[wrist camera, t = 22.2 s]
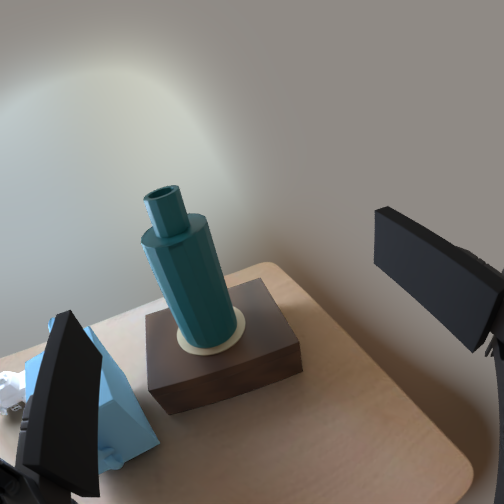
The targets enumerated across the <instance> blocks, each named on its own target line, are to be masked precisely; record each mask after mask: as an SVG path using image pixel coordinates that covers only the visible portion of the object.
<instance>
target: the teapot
mask: <svg viewBox="0 0 504 504" xmlns="http://www.w3.org/2000/svg"><path fill="white" fill-rule="evenodd" d="M54 320H55V318H51V319H50V321H49V324H48V327H49V331H50V332H51V329H52V326H53V323H54ZM84 331H85V332H86V334H87V335H88V336H89V338H90V339H91V341H92V342H93V343H94V345H95V346H96V348H97V349H98V350H99V352H100V353H101V354H102V356H103V359H102V369H101V380H100V393H99V412H98V473H99V474H101V473H103V472H105V471H108V470H110V469H113V470H117V469H120V468H121V467H122V466H123V465H124V462H126V461H128V460H130V459H132V458H134V457H136V456H138V455H140V454H142V453H143V452H145V451H147V450H149V449H151V448H153V447H155V446H156V445H158V444H160V442H159V440H158V438H157V437H156V435H155V433H154V431H153V429H152V428H151V426H150V424H149V422H148V420H147V418H146V417H145V415H144V413H143V411H142V409H141V407H140V405H139V403H138V401H137V399H136V397H135V395H134V393H133V391H132V389H131V387H130V384H129V382H128V380H127V378H126V376H125V374H124V373H123V371H122V370H121V369H120V368H119V366H118V365H117V364H116V362H115V361H114V360H113V358H112V357H111V356H110V354H109V353H108V352H107V350H106V349H105V348H104V346H103V345H102V343H101V342H100V341H99V339H98V338H97V336H96V335H95V333H94V332H93V330H92V329H91V327H90V326H88V327H86V328H84ZM43 354H44V352H42V353H40V354H39V355H37V356H35V357H34V358H32V359H30V360H29V361H27V362H25V389H26V403H27V401H28V399H29V397H30V395H33V393H34V389H35V384H36V380H37V376H38V373H39V369H40V365H41V361H42V358H43Z"/></svg>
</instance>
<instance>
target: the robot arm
mask: <svg viewBox="0 0 504 504" xmlns="http://www.w3.org/2000/svg"><path fill="white" fill-rule="evenodd" d="M374 243H375V244H374V264H375V265H376V266H378V267H379V268H380V269H381V270H382V271H383V272H385V273H386V274H387V275H388V276H389V277H391V278H392V279H393V280H394V281H396V283H398V284H399V285H400V286H401V287H402V288H403V289H404V290H406V291H407V292H408V293H409V294H410V295H411V296H412V297H413V298H415V299H416V300H417V301H418V302H419V303H420V304H421V305H422V306H424V308H426V309H427V310H428V311H429V312H430V313H431V314H432V315H433V316H434V317H435V318H437V319H438V320H439V321H440V322H441V323H442V324H443V325H444V326H445V327H446V328H447V329H448V330H449V331H450V332H451V333H452V334H453V335H454V336H455V337H456V338H457V339H458V340H459V341H461V342H462V343H463V344H464V345H465V346H466V347H467V348H468V349H469V350H470V351H471V352H472V353H473V352H474V351H476V350H477V349H478V348H479V347H480V346H481V345H483V344H484V342H485V340H486V338H487V336H488V334H489V332H491V333H492V334H494V336H493V338H492V340H491V342H490V344H489V346H488V348H487V350H486V351H485V357H487V356H488V354H489V352H490V351H491V349H492V347H493V351H492V353H491V357H492V356H494V360H495V367H496V376H497V385H498V398H499V419H500V444H499V464H498V476H497V485H496V492H495V499H494V504H504V275H503V274H502V273H500V272H499V271H497V270H496V269H495V268H493V267H492V266H490V265H489V264H486V263H485V261H483V260H482V259H480V258H479V259H478V257H477V256H476V255H474V254H473V253H471V252H470V251H468V250H465V249H463V248H460V247H457V246H454V245H453V244H451V243H449V242H448V241H446V240H445V239H443V238H442V237H440V236H438V235H437V234H435V233H434V232H432V231H430V230H429V229H427V228H425V227H424V226H422V225H420V224H419V223H417V222H415V221H413V220H412V219H410V218H408V217H406V216H405V215H403V214H401V213H399V212H397V211H396V210H394V209H392V208H390V207H388V206H387V207H383V208H380V209H377V210H375V242H374ZM102 359H103V356H102V354H101V353H100V352H99V350H98V349H97V348H96V346H95V345H94V343H93V342H92V341H91V339H90V338H89V336H88V335H87V334H86V332H85V331H84V329H83V328H82V326H81V325H80V323H79V322H78V320H77V319H76V318H75V316H74V314H73V313H72V311H71V310H69V311H66V312H63V313H60V314H57V315H56V317H55V320H54V323H53V326H52V329H51V332H50V335H49V339H48V341H47V345H46V348H45V351H44V354H43V358H42V361H41V365H40V369H39V373H38V376H37V380H36V384H35V389H34V393H33V395H30V397H29V399H28V401H27V403H26V405H25V407H24V411H23V416H22V420H23V421H22V422H21V427H20V429H21V431H20V433H19V440H18V447H17V454H16V464H15V467H13V466H11V465H10V464H8V463H7V462H5V461H4V460H2V459H1V458H0V504H78V503H77V502H76V501H75V500H74V499H72V498H71V492H72V493H74V494H77V495H79V496H81V497H100V490H99V473H98V412H99V393H100V380H101V369H102Z"/></svg>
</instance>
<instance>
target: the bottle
mask: <svg viewBox="0 0 504 504" xmlns="http://www.w3.org/2000/svg"><path fill="white" fill-rule="evenodd" d="M144 203H145V206H146V209H147V212H148V215H149V217H150V220H151V223H152V227H151V228H150V229H148V230H147V231H146V232H145V233H144V235H143V236H142V237H141V244H142V247H143V249H144V252H145V254H146V257H147V259H148V261H149V264H150V266H151V268H152V271H153V273H154V275H155V278H156V280H157V282H158V284H159V287H160V289H161V291H162V293H163V295H164V298H165V300H166V302H167V304H168V306H169V308H170V310H171V312H172V315H173V317H174V319H175V321H176V323H177V325H178V327H179V329H180V331H181V333H182V335H183V337H184V338H185V340H186V341H187V342H188V343H189V344H190V345H192V346H194V347H197V348H212V347H215V346H218V345H220V344H222V343H224V342H226V341H227V340H228V339H229V338H230V337H231V336H232V335H233V334H234V332H235V330H236V328H237V319H236V315H235V312H234V309H233V305H232V302H231V299H230V296H229V293H228V289H227V286H226V283H225V280H224V276H223V273H222V270H221V267H220V263H219V260H218V257H217V253H216V250H215V247H214V243H213V240H212V236H211V233H210V229H209V226H208V222H207V220H206V217H205V216H203V215H201V214H190V213H189V214H187V212H186V209H185V206H184V203H183V199H182V196H181V192H180V189H179V186H176V185H171V186H166V187H163V188H160V189H157V190H154V191H153V192H150V193H149V194H147V195H146V196H145V197H144Z"/></svg>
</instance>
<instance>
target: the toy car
mask: <svg viewBox="0 0 504 504" xmlns="http://www.w3.org/2000/svg"><path fill="white" fill-rule="evenodd" d="M22 400H23V402H24V403H26V389H25V371H23V372H21V373H19V374H17V373H14V372H9V373H8V371H7V372H6V371H4V372H2V373H1V374H0V414H1V415H3V414H4V415H7V410H6V409H7V408H9V407H10V408H11V406H12V407H13V406H15V405H17V404H18V402H20V401H22ZM19 406H20V405H19ZM19 406H17V407H19ZM17 407H15V408H17ZM20 407H21V406H20ZM15 408H13V409H15ZM21 408H22V407H21ZM13 409H12V410H13ZM19 409H20V408H19ZM17 410H18V409H17ZM13 411H14V410H13ZM15 411H16V410H15Z"/></svg>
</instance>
